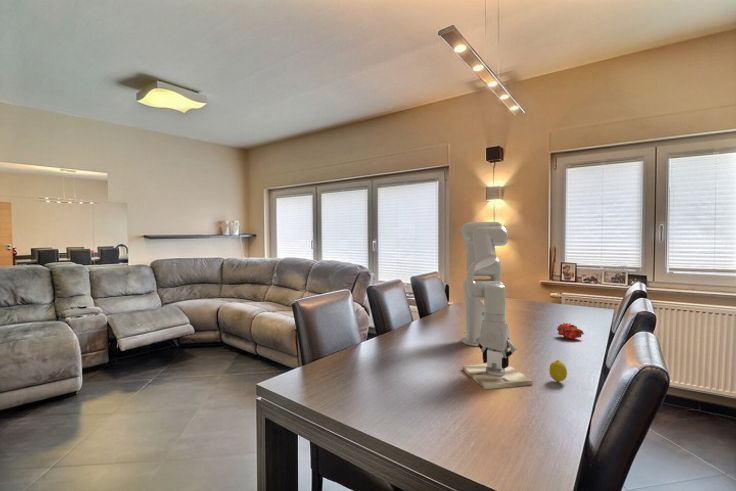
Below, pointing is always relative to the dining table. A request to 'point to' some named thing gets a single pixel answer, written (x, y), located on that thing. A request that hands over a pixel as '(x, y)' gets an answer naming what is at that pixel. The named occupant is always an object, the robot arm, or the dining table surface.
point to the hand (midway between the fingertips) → (495, 364)
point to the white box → (494, 358)
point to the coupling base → (496, 376)
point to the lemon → (558, 371)
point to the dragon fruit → (569, 331)
